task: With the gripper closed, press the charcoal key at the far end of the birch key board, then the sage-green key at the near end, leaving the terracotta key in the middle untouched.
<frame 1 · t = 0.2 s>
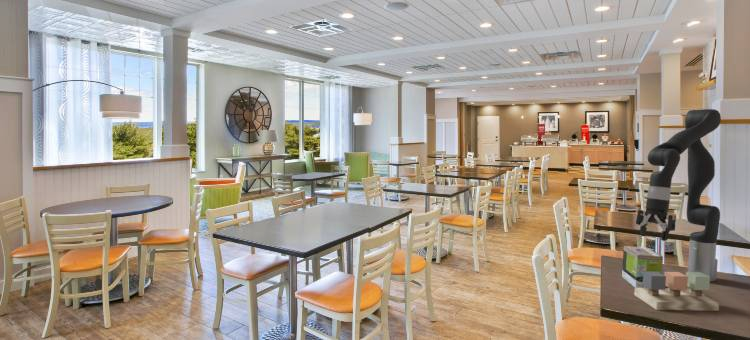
hand: (653, 238, 163), 23 cm above the table, tool pointing down, fingers open, 8 cm apart
sage key: (697, 280, 156), point 9 cm above the table, slide at 0.0 cm
terracotta key: (675, 280, 156), point 9 cm above the table, slide at 0.0 cm
tea box: (640, 284, 177), on the table
charcoal key: (654, 280, 157), point 9 cm above the table, slide at 0.0 cm
key board: (674, 302, 157), on the table
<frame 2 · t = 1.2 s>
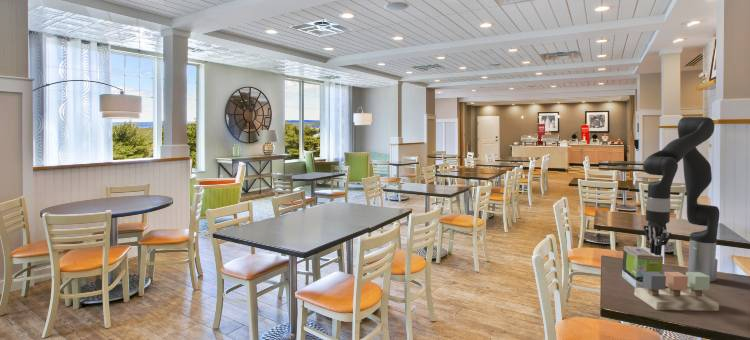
hand: (655, 253, 156), 19 cm above the table, tool pointing down, fingers closed
nothing on the table moved.
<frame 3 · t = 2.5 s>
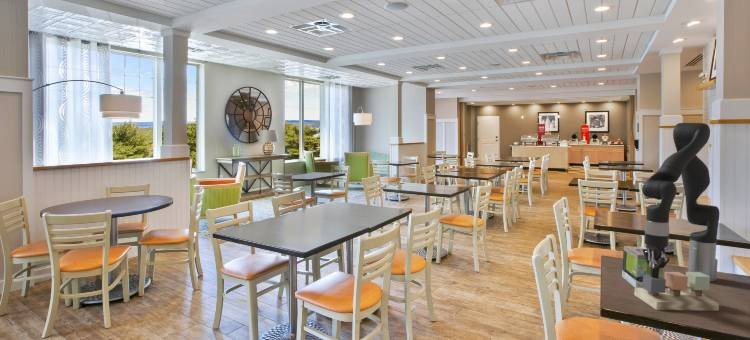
hand: (654, 277, 157), 10 cm above the table, tool pointing down, fingers closed
charcoal key: (653, 283, 157), point 7 cm above the table, slide at 1.3 cm, touching gripper
everything else where it was.
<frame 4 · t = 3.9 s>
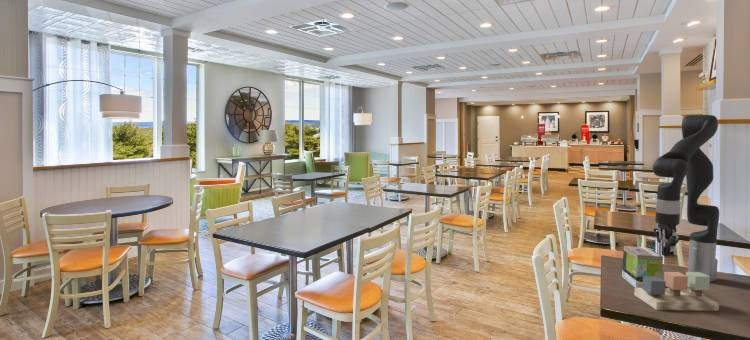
hand: (665, 255, 156), 18 cm above the table, tool pointing down, fingers closed
charcoal key: (653, 285, 157), point 7 cm above the table, slide at 1.9 cm
everything else where it was.
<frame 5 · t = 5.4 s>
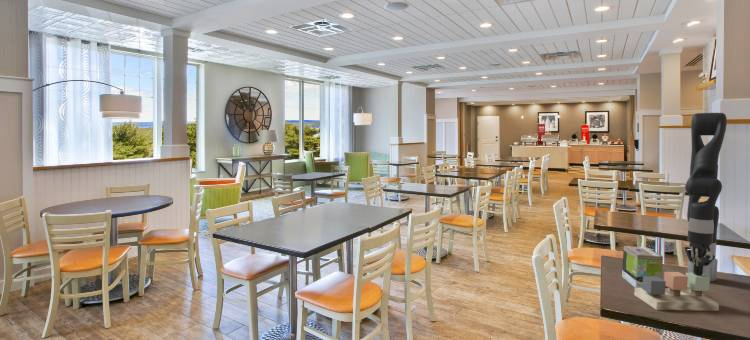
hand: (697, 274, 156), 11 cm above the table, tool pointing down, fingers closed
sage key: (697, 281, 156), point 8 cm above the table, slide at 0.2 cm, touching gripper
everything else where it was.
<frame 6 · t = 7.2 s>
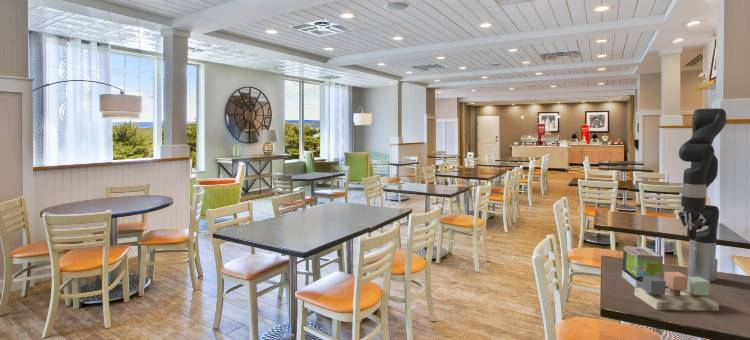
hand: (691, 238, 160), 24 cm above the table, tool pointing down, fingers closed
sage key: (697, 285, 156), point 7 cm above the table, slide at 1.9 cm
everything else where it was.
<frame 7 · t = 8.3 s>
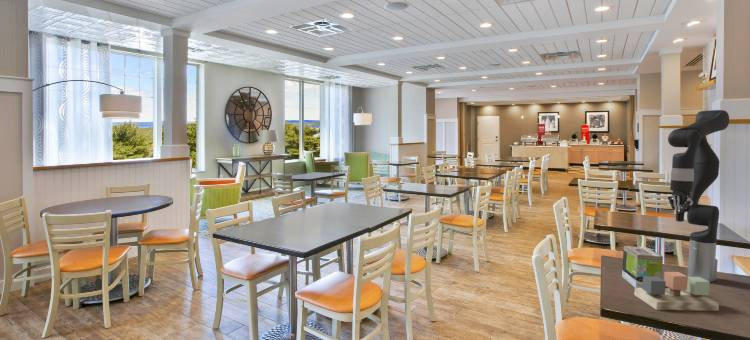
hand: (679, 221, 167), 29 cm above the table, tool pointing down, fingers closed
nothing on the table moved.
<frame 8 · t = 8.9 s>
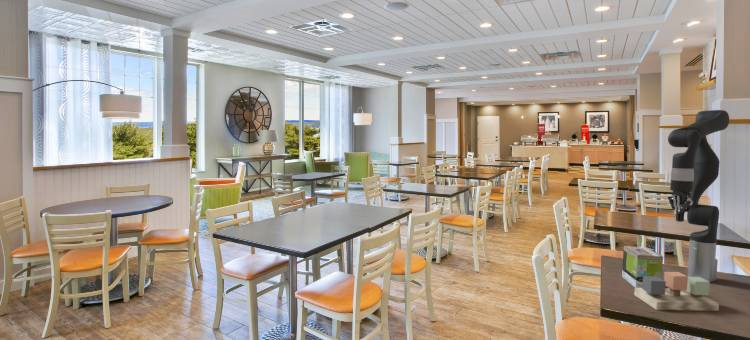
hand: (679, 221, 167), 29 cm above the table, tool pointing down, fingers closed
nothing on the table moved.
at the end: charcoal key slide at 1.9 cm; sage key slide at 1.9 cm; terracotta key slide at 0.0 cm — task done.
